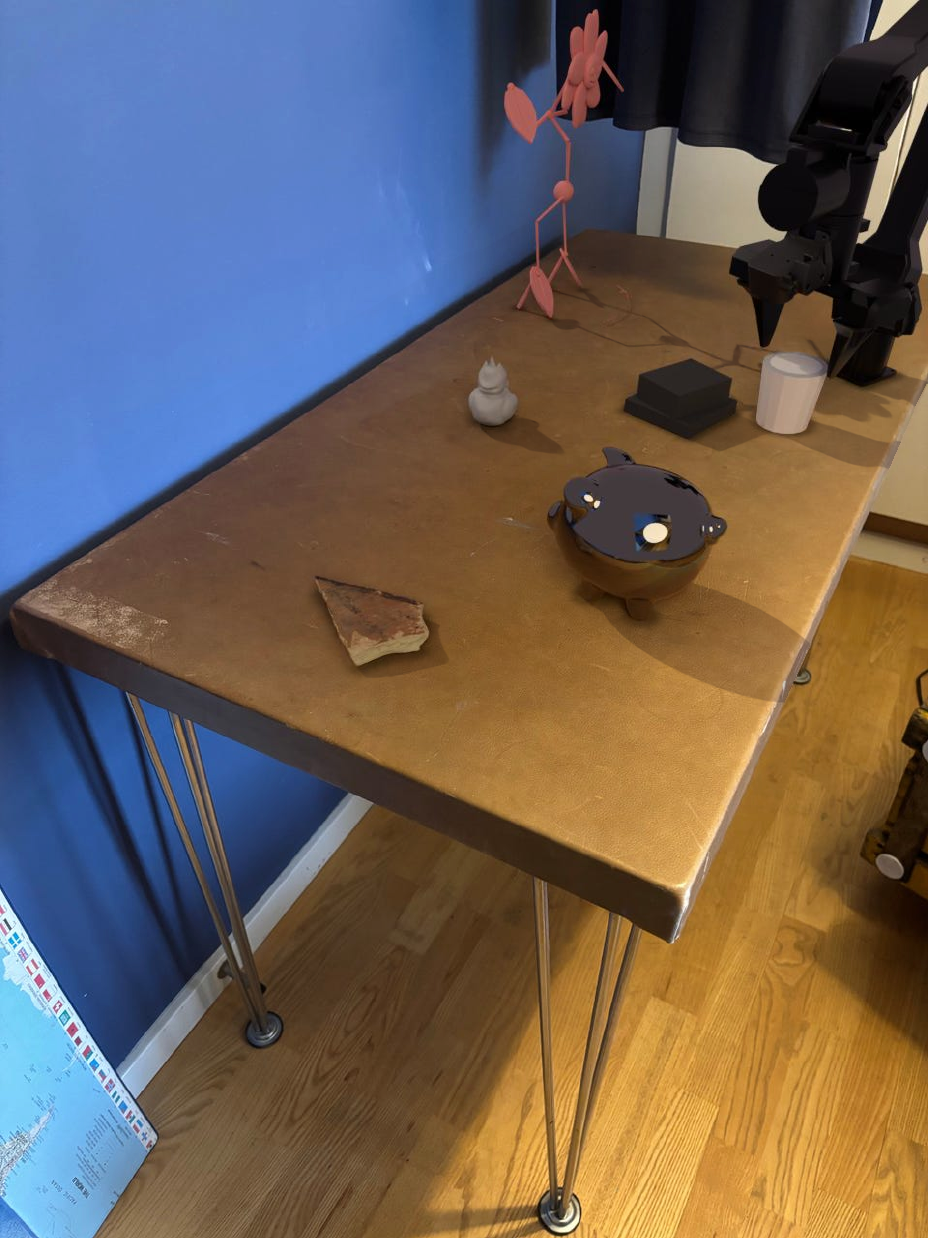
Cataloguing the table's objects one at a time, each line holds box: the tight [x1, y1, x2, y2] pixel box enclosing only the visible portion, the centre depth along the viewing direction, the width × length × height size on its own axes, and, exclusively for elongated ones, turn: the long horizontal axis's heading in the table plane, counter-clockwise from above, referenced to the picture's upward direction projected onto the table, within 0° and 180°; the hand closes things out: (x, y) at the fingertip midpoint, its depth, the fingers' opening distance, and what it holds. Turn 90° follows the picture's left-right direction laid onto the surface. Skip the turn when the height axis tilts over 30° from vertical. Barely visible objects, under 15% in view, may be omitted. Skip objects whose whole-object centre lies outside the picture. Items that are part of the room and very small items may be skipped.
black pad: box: [635, 357, 733, 419], centre depth 102 cm, size 8×6×3 cm
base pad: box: [623, 392, 739, 440], centre depth 104 cm, size 9×9×2 cm
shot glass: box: [755, 350, 828, 435], centre depth 100 cm, size 7×7×7 cm
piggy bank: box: [546, 446, 728, 621], centre depth 75 cm, size 11×15×12 cm
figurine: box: [493, 9, 633, 324], centre depth 118 cm, size 15×26×35 cm, turn 151°
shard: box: [314, 575, 430, 667], centre depth 75 cm, size 11×8×2 cm
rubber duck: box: [468, 355, 519, 427], centre depth 100 cm, size 5×7×8 cm
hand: (796, 361), depth 98 cm, fingers open, 9 cm apart
